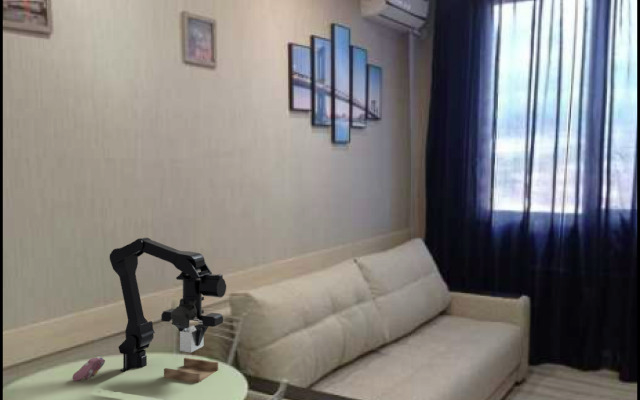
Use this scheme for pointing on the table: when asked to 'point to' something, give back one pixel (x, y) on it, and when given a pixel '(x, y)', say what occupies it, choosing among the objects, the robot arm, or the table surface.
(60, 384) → the table surface
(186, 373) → the brown wooden tray
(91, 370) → the pink elongated piece
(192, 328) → the metal block
